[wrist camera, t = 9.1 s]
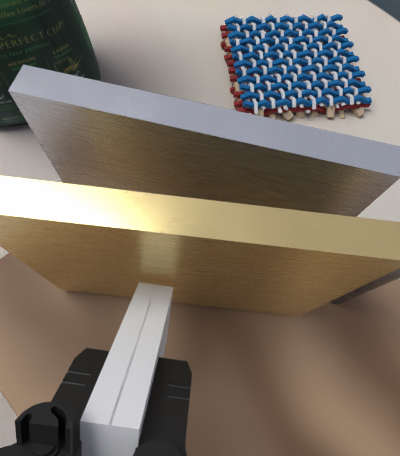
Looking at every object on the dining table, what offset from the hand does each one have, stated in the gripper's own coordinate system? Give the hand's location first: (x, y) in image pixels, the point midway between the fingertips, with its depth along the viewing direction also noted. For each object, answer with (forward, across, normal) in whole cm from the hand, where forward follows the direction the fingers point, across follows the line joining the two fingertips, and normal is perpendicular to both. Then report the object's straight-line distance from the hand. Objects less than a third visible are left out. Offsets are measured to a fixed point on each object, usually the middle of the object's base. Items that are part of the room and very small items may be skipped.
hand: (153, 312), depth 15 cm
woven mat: (+20, +7, +11) cm, 23 cm away
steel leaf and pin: (+7, +3, 0) cm, 8 cm away
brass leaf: (+4, +1, -1) cm, 4 cm away
